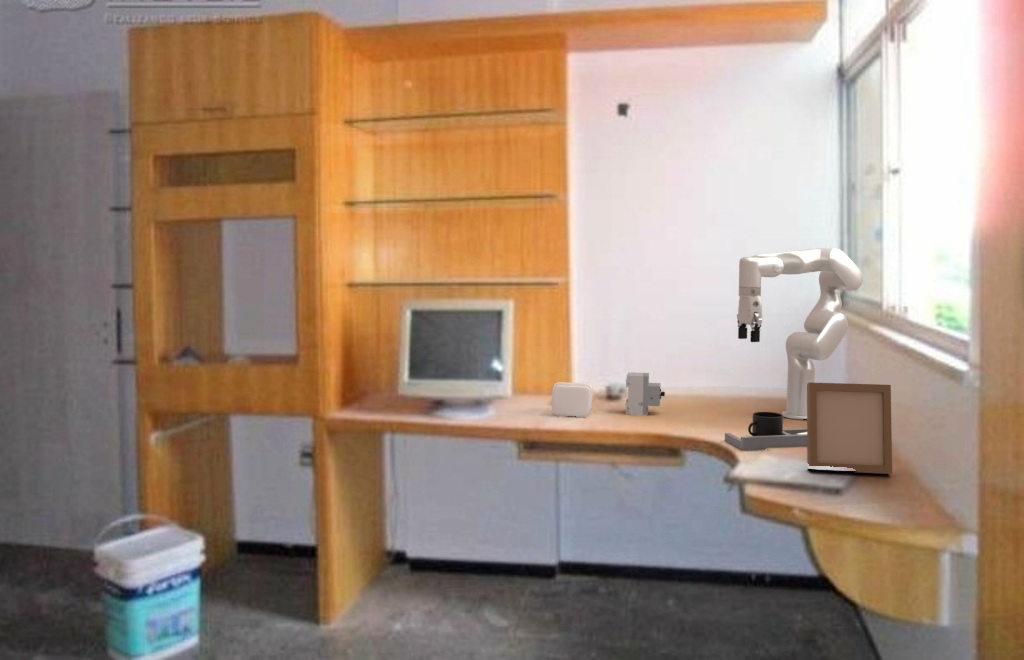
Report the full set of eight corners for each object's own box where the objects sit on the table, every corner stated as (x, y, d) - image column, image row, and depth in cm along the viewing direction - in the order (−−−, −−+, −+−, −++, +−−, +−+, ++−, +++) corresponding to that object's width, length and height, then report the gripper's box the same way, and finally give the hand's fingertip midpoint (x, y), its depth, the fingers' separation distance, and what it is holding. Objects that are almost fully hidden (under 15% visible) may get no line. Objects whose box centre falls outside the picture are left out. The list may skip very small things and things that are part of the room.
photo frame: (892, 477, 235) (895, 387, 233) (809, 473, 239) (812, 385, 237) (879, 464, 249) (882, 380, 247) (801, 461, 253) (804, 377, 251)
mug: (739, 440, 279) (740, 413, 278) (770, 437, 283) (771, 410, 282) (756, 446, 270) (757, 418, 269) (788, 443, 274) (789, 416, 273)
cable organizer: (549, 416, 317) (549, 385, 315) (553, 411, 327) (553, 381, 326) (589, 418, 314) (589, 387, 312) (592, 412, 324) (593, 382, 323)
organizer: (812, 436, 284) (813, 425, 283) (834, 446, 271) (835, 434, 270) (724, 440, 278) (725, 428, 278) (742, 450, 265) (743, 437, 265)
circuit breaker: (663, 416, 317) (664, 376, 315) (625, 414, 320) (626, 375, 318) (664, 412, 324) (665, 373, 323) (626, 410, 327) (627, 372, 326)
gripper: (771, 293, 292) (770, 342, 294) (748, 290, 309) (747, 337, 311) (750, 293, 290) (749, 343, 292) (729, 290, 307) (728, 337, 309)
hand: (748, 340), depth 301 cm, fingers open, 9 cm apart
